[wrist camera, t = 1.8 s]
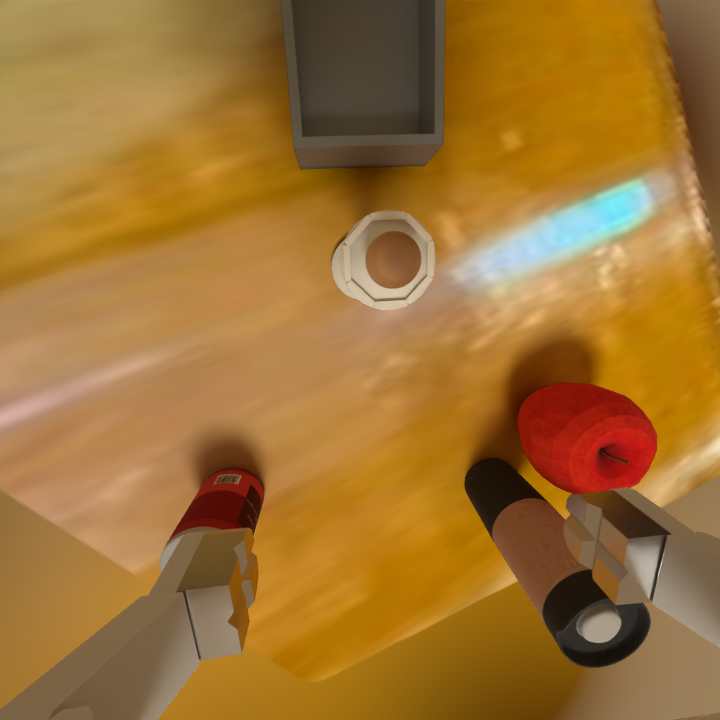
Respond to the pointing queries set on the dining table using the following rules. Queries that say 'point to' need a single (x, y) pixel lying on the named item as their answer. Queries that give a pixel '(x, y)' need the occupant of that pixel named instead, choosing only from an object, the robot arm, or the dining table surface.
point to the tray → (365, 81)
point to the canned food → (220, 507)
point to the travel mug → (553, 569)
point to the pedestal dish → (353, 260)
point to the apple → (586, 437)
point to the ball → (393, 259)
